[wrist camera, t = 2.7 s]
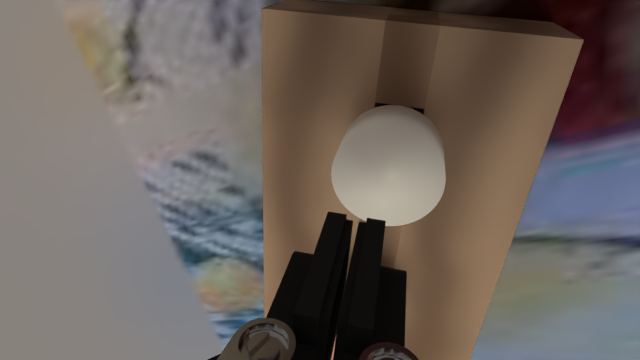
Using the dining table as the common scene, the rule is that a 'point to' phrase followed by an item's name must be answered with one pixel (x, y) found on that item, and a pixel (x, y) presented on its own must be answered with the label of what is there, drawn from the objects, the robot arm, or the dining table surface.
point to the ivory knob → (390, 166)
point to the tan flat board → (448, 117)
